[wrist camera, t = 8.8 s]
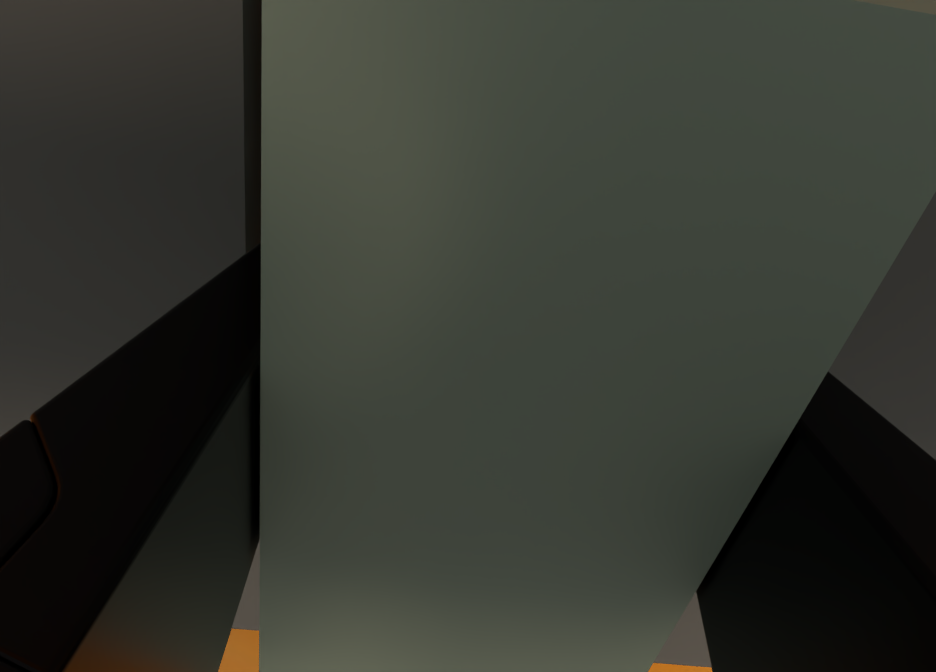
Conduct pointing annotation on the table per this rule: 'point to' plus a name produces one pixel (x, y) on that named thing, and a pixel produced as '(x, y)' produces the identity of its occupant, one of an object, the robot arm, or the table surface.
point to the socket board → (237, 211)
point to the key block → (554, 304)
